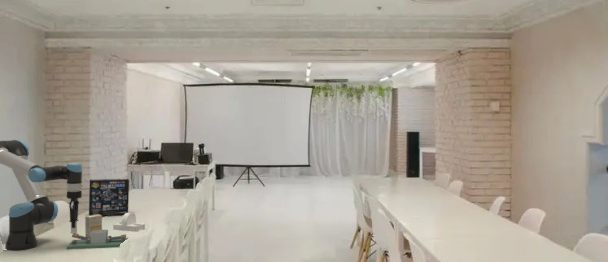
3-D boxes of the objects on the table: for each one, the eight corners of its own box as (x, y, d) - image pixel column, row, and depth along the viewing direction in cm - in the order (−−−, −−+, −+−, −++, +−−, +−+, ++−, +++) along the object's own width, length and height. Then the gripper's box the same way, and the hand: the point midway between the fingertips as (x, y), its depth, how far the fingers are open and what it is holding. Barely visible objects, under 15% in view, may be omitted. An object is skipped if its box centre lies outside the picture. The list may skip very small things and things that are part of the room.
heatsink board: (66, 249, 267) (66, 235, 267) (73, 242, 283) (73, 229, 283) (125, 246, 274) (125, 233, 274) (128, 240, 290) (128, 227, 290)
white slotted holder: (136, 232, 312) (136, 215, 312) (112, 230, 317) (112, 213, 317) (145, 229, 321) (145, 212, 321) (122, 227, 326) (122, 210, 326)
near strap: (91, 240, 280) (92, 237, 280) (89, 242, 275) (90, 239, 275) (73, 235, 277) (74, 232, 278) (71, 237, 273) (72, 234, 273)
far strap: (106, 241, 277) (106, 238, 277) (108, 239, 282) (108, 236, 282) (125, 239, 279) (125, 236, 279) (126, 237, 284) (126, 234, 284)
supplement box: (98, 235, 300) (98, 214, 300) (102, 236, 297) (102, 215, 297) (84, 237, 294) (85, 215, 294) (88, 239, 291) (89, 216, 291)
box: (128, 213, 372) (128, 178, 372) (129, 215, 366) (129, 179, 366) (88, 216, 360) (88, 179, 360) (89, 218, 354) (89, 180, 354)
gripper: (79, 192, 269) (78, 235, 270) (83, 189, 282) (83, 230, 282) (64, 192, 268) (63, 236, 268) (69, 189, 280) (69, 231, 281)
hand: (73, 233), depth 275 cm, fingers closed
